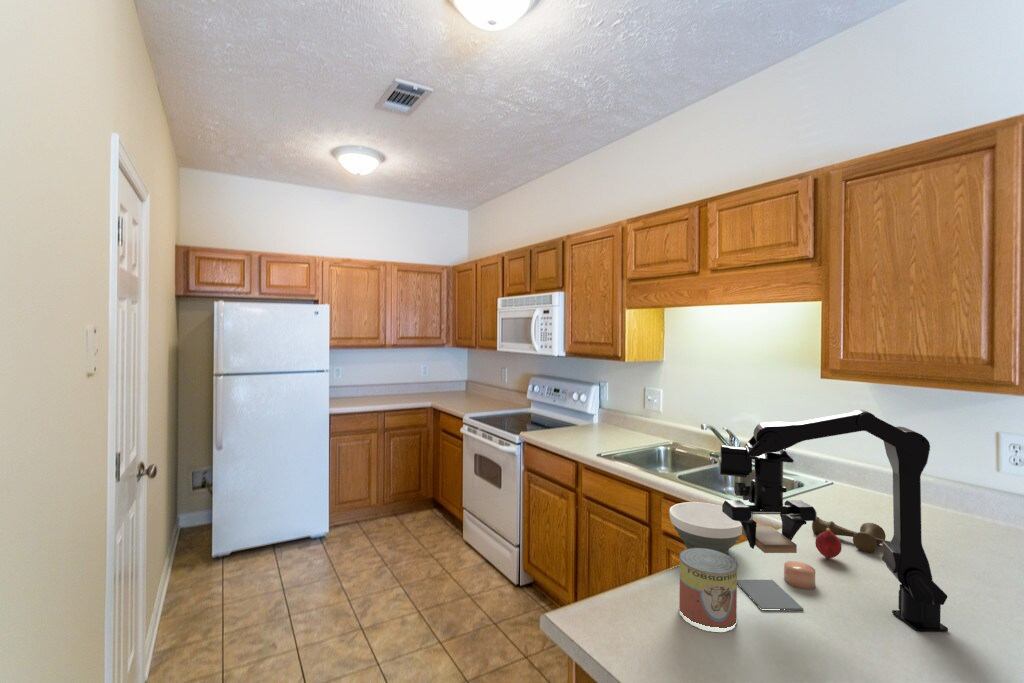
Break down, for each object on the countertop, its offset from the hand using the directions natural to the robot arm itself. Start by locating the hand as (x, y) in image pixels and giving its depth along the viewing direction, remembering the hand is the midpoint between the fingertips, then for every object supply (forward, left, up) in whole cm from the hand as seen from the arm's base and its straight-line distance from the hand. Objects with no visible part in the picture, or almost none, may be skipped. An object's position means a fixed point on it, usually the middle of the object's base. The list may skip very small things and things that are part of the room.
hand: (768, 547), depth 108 cm
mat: (0, 0, -11) cm, 11 cm away
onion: (+18, -26, -11) cm, 33 cm away
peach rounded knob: (+6, -11, -11) cm, 17 cm away
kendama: (+28, -40, -11) cm, 50 cm away
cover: (0, 0, +1) cm, 1 cm away
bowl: (+24, +4, -11) cm, 27 cm away
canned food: (-8, +17, -11) cm, 22 cm away
